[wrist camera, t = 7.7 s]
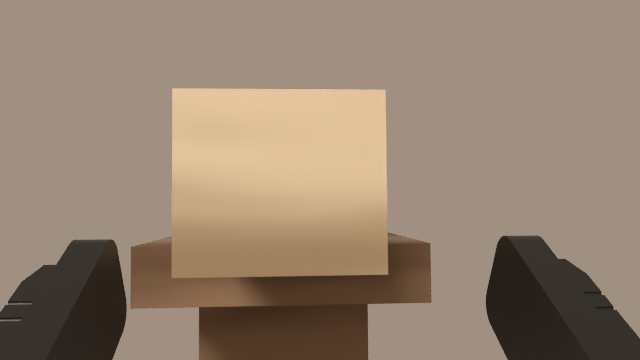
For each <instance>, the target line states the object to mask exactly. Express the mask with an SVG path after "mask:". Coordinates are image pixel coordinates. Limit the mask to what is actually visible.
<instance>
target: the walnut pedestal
mask: <svg viewBox="0 0 640 360" xmlns="http://www.w3.org/2000/svg"><path fill="white" fill-rule="evenodd" d="M430 302H431V262H430V243H427V242H423V241H419V240H415V239H411V238H407V237H403V236H399V235H395V234H391V233H388V275H333V276H273V277H212V278H172V237H168V238H164V239H161V240H157V241H153V242H149V243H146V244H141V245H137V246H134V247H131V308H132V309H134V308H184V307H199V360H368V312H367V304H379V303H380V304H384V303H430Z"/></svg>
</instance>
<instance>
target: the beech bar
mask: <svg viewBox="0 0 640 360" xmlns="http://www.w3.org/2000/svg"><path fill="white" fill-rule="evenodd" d="M385 98H386V90H332V89H331V90H330V89H324V90H323V89H173V107H172V108H173V111H172V117H173V118H172V278H212V277H273V276H333V275H388V229H387V164H386V162H387V159H386V99H385Z"/></svg>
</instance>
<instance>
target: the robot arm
mask: <svg viewBox="0 0 640 360" xmlns="http://www.w3.org/2000/svg"><path fill="white" fill-rule="evenodd" d="M486 309H487V315H488V319H489V321H490V324H491V326H492V328H493V330H494V332H495V334H496V336H497V338H498V340H499V343H500V345H501V346H502V348H503V350H504V353H505V355H506V357H507V359H508V360H640V338H639V337H638V336H637V335H636V333H635V332H634V331H633V330H632V329H631V327H630V326H629V325H628V324H627V322H626V321H625V320H624V319H623V318H622V316H621V315H620V314H619V313H618V312H617V310H614V309H613V306H612V304H611V303H610V302H609V300H608V299H607V298H606V297H605V295H601V291H600V289H599V288H598V287H597V286H596V285H595V283H594V282H593V281H592V280H591V278H590V277H589V276H588V275H587V274H586V273H585V272H583V271H582V270H580V269H579V268H577V267H576V266H575V265H573V264H572V263H570V262H569V261H567V260H566V259H558V258H557V257H556V256H555V254H554V253H553V252H552V250H551V249H550V248H549V247H548V245H547V244H546V243H545V242H544V240H543V239H542V238H541V237H539V236H503V237H501V238H500V240H499V241H498V244H497V248H496V253H495V257H494V262H493V266H492V271H491V276H490V280H489V284H488V289H487V294H486ZM125 321H126V297H125V291H124V285H123V279H122V273H121V268H120V262H119V256H118V250H117V246H116V244H115V242H114V241H113V240H73V241H72V242H71V243H70V244H69V246H68V247H67V249H66V251H65V252H64V254H63V255H62V257H61V259H60V260H59V261H58V263H57V265H44V266H42V267H41V268H40V269H38V270H37V271H36V272H34V273H33V274H32V275H30V276H29V277H28V278H26V279H25V280H24V281H22V282H21V284H20V285H19V287H18V288H17V289H16V291H15V292H14V294H13V295H12V296H11V298H10V299H9V301H8V305H5V306H4V308H3V309H2V311H1V312H0V360H112V359H113V356H114V353H115V351H116V348H117V346H118V343H119V340H120V338H121V335H122V333H123V329H124V326H125Z"/></svg>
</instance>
